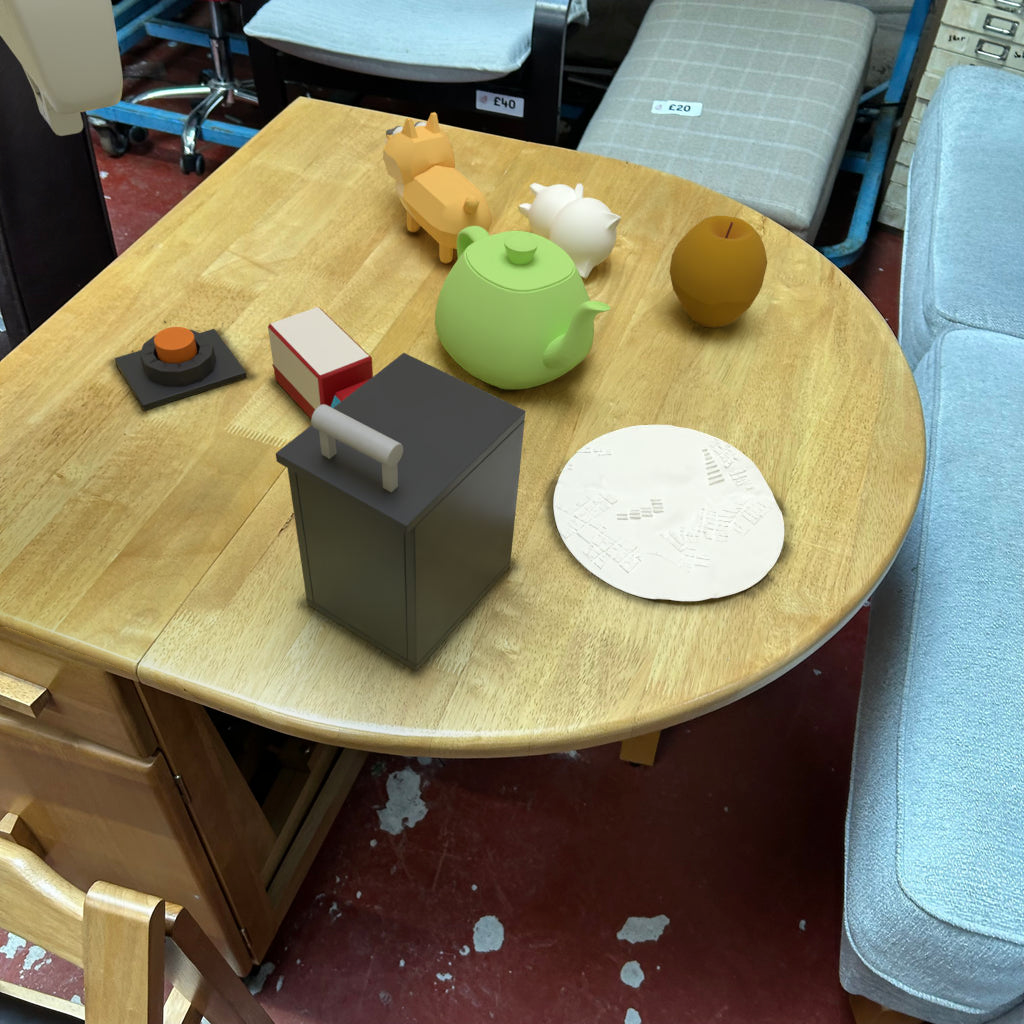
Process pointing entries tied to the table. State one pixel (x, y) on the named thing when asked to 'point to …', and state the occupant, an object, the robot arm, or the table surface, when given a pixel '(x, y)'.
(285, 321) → the toy truck
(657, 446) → the plaque
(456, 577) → the lidded storage box
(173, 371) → the box
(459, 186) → the dog
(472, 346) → the teapot
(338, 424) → the storage box lid
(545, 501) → the table surface
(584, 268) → the cat figurine
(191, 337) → the button
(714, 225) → the apple
